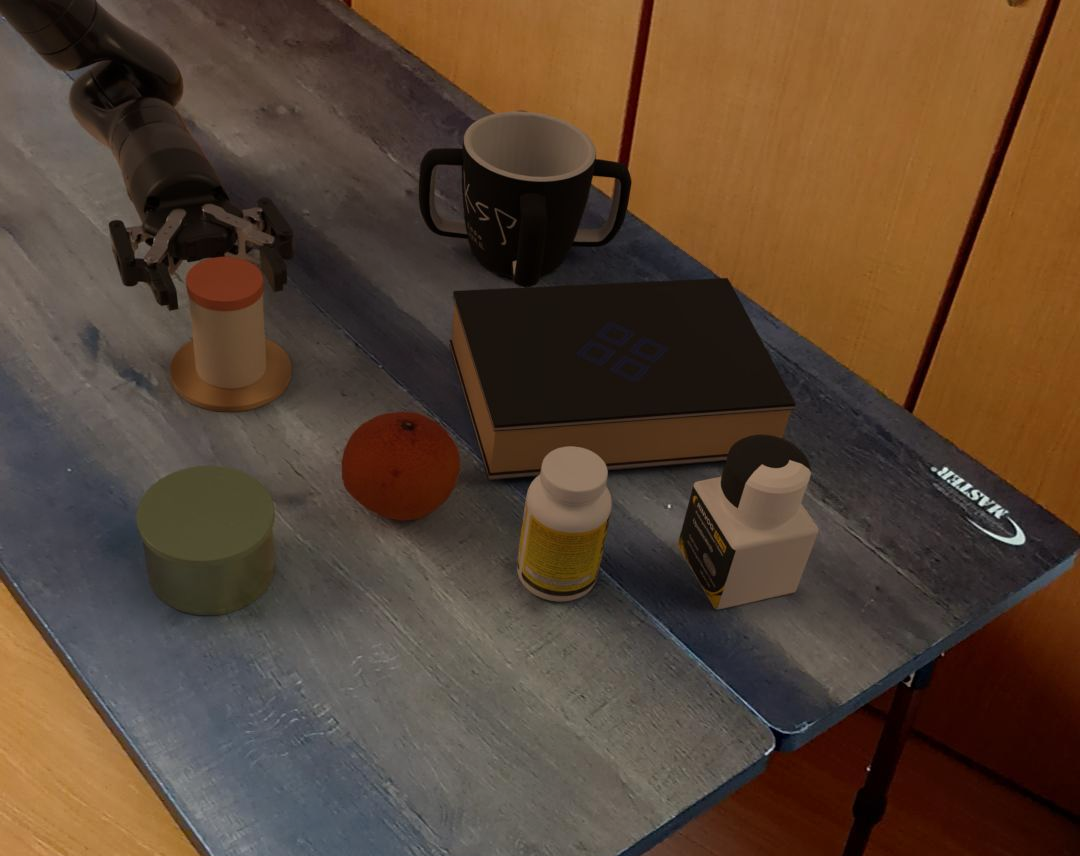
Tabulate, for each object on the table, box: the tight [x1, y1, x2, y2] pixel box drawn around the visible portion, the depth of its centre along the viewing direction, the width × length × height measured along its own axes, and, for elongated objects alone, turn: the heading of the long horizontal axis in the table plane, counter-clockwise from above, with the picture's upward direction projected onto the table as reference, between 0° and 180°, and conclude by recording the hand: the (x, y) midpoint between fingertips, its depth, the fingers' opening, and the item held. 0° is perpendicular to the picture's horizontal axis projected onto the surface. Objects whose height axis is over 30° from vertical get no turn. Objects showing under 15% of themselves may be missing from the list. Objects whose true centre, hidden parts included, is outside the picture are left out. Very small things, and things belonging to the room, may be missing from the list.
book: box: [448, 277, 797, 481], centre depth 112 cm, size 17×25×7 cm
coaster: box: [169, 337, 292, 413], centre depth 112 cm, size 10×10×1 cm
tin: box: [135, 465, 276, 616], centre depth 94 cm, size 9×9×6 cm
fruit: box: [341, 411, 461, 521], centre depth 101 cm, size 9×9×8 cm
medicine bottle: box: [677, 435, 819, 611], centre depth 98 cm, size 7×7×12 cm
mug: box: [418, 110, 633, 288], centre depth 124 cm, size 16×16×12 cm
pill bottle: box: [516, 446, 613, 603], centre depth 96 cm, size 6×6×11 cm
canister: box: [185, 256, 266, 389], centre depth 108 cm, size 6×6×9 cm
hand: (227, 291), depth 105 cm, fingers open, 8 cm apart
